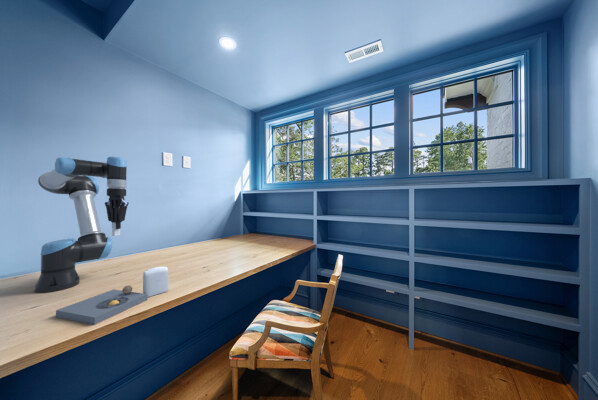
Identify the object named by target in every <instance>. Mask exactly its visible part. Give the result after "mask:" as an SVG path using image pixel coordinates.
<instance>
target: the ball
mask: <svg viewBox="0 0 598 400" xmlns="http://www.w3.org/2000/svg"><path fill="white" fill-rule="evenodd" d="M117 303H119V301H117V300H113V301H111V302H110V303H109V304H108V306H110V305H115V304H117Z"/></svg>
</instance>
